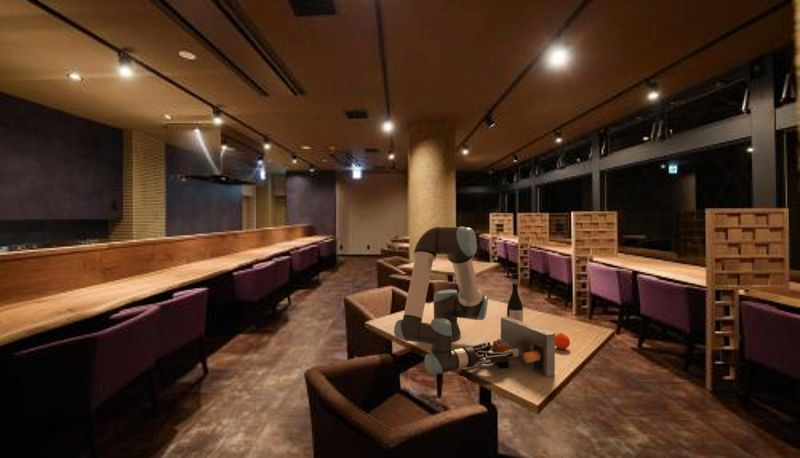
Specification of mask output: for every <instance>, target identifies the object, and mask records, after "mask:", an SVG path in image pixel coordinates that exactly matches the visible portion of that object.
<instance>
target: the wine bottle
mask: <svg viewBox="0 0 800 458" xmlns="http://www.w3.org/2000/svg"><path fill="white" fill-rule="evenodd" d="M511 274H512V275H511V277H512V290H511V295H510V298H509V300H508V303H507V308H506V317H511V318H513V319H516V320H519V321H522V322H524V306H523V302H522V299H521V297H520V295H519V288H518V287H519V286H518V285H519V282H518V281H519V280H518V279H519V274H518V273H516V272H515V273H513V272H512V273H511Z"/></svg>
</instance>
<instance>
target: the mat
mask: <svg viewBox="0 0 800 458" xmlns="http://www.w3.org/2000/svg"><path fill="white" fill-rule="evenodd" d="M482 364H483V365H485V364H486V362H485V361H483V362H477V363H476V365H478V366H479V365H482Z"/></svg>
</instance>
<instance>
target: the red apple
mask: <svg viewBox="0 0 800 458" xmlns="http://www.w3.org/2000/svg"><path fill="white" fill-rule="evenodd" d="M570 344H571V341H570V338H569V337H568V335H567V334H565V333H561V332H556V333H555V348H557V349H558V350H566V349H568V348H569V347H570Z"/></svg>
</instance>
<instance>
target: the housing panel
mask: <svg viewBox="0 0 800 458" xmlns="http://www.w3.org/2000/svg"><path fill="white" fill-rule="evenodd" d="M555 335H556V333H554V332H552V331H549V330H545V328H541V327H538V326H535V325H533V324H530V323H527V322H524V321H523V322H522V321H519V320H516V319H513V318H511V317H507V316H503V317H500V339H502V340H503V341H504V342H505V343H506V344H508V345H509V350H512V349H518V356H515V357H510V358H509V360H512V361H514V362H515V363H517V364H520V365H522V367H526V368H527V369H529V370H531V371H533V372H536V371H540V370H541V371H543V377H545V378H546V379H547V378H551V377H554V376H555V373H556V372H555V371H556V370H555V368H556V367H555V366H556V363H555V362H556V346H555ZM532 351H537V352H538V353H539V354H540V360H539V361H534V362H530V363H526V362H525V361H524V359H523V354H524V353H527V352H532Z"/></svg>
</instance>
